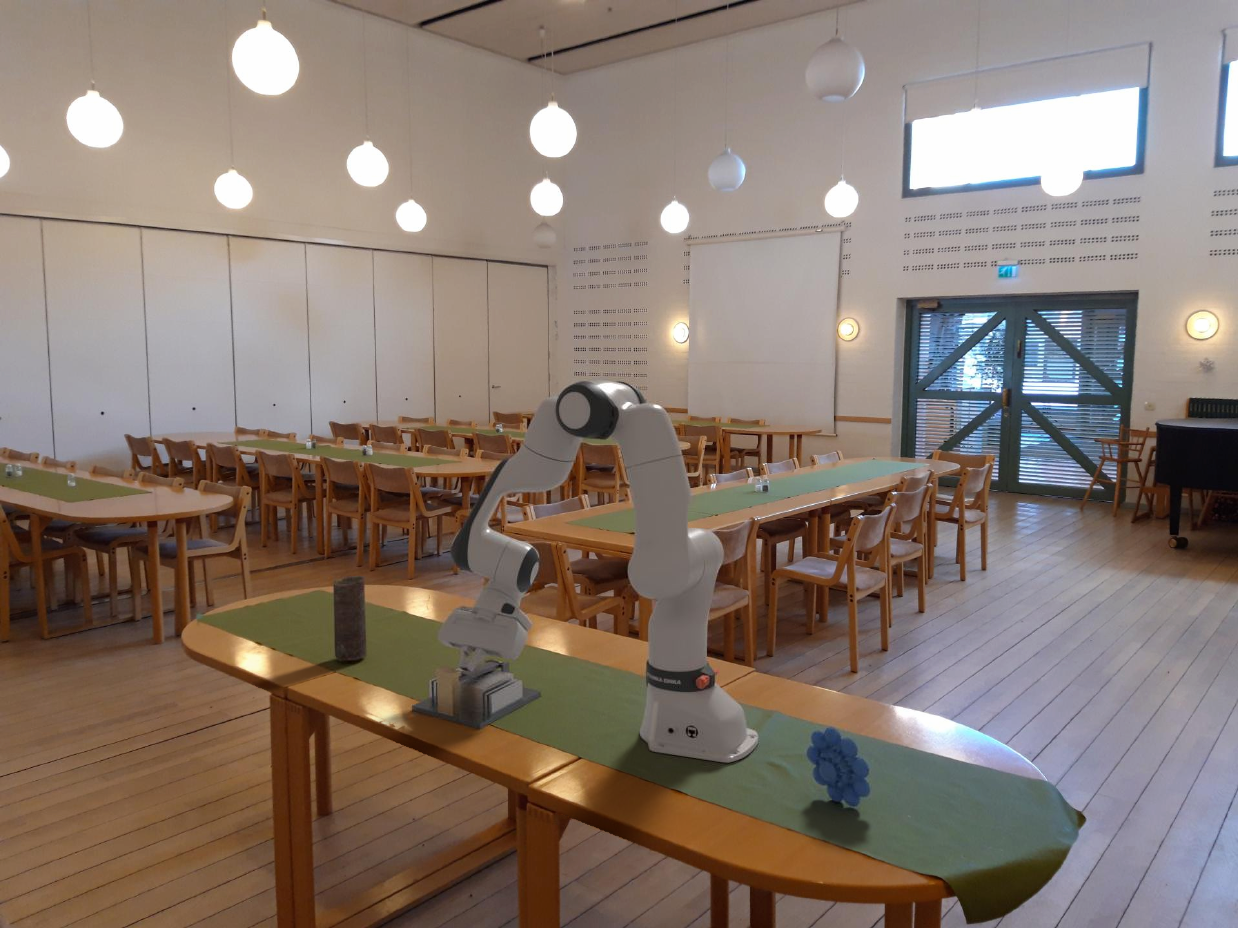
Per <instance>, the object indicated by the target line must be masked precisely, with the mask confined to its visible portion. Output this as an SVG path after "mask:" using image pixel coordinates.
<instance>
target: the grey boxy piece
mask: <svg viewBox="0 0 1238 928" xmlns="http://www.w3.org/2000/svg"><path fill="white" fill-rule="evenodd" d="M490 660H494V659H493V658H489V659H486V660H485V661H484V663H487V662H490ZM461 671H463V670H461V669H460V668H459V667H457V668H455V669H454V668H450V667H445V666H440V667H438V668H436V669H434V675H435V676H436V677H435V678H433V679H430V680H429V683H428V685H429V687H428V688H429V697H428V698H425V699H424V700H421V701H420V702H418V703H414V704H413V705H411V711H413V712H416V713H419V714H420V713H421V714H424V715H427V716H430V717H431V716H432V717H434V718H439V719H442V720H445V721H450V722H454V723H457V724H461V725H464V726H468V727H472V728H475V729H479V730H480V729H482V728H484V727H486V726H488V725H490V724H492V723H494V722H496V721H497V720H499V719H501V718H503V717H504V716H506V714H507V715H509V714H511V713H512V712H513V711H516V710H517V709H519V708H522V707H523V706H525V705H527V704H529V703H530V702H532V701H534V700H536V699H538V698H539V697H541V696H542V691H540V690H537V689H532V688H528V687H523V680H520V679H518V678H514V677H515V676H514V673H511V672H510V662H509V661H506V662H504V663H503V664H501V668H500V670H498V669H495V670H492V671H490V672H487V673H484V674H481V675H478V676H475V677H472V678H469V679H467V680H464V681H461V682H459V676H461Z"/></svg>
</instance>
